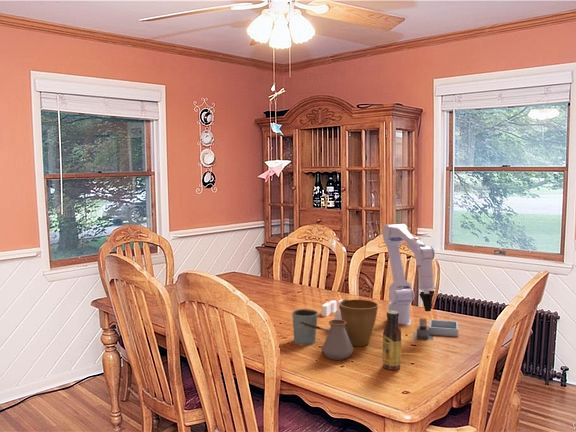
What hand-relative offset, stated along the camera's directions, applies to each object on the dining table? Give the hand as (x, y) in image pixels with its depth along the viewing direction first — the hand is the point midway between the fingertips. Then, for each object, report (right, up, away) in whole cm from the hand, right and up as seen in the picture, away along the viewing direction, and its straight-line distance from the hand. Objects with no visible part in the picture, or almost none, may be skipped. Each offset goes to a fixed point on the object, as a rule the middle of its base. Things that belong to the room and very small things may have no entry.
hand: (428, 310), depth 213 cm
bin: (+8, -11, +7) cm, 15 cm away
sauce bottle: (-21, -15, -30) cm, 39 cm away
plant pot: (-29, -13, -5) cm, 32 cm away
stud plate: (-2, -11, +1) cm, 12 cm away
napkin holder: (-36, -9, +39) cm, 54 cm away
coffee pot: (-43, -14, -20) cm, 49 cm away
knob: (-2, -11, +1) cm, 11 cm away
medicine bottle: (-32, -11, +16) cm, 37 cm away
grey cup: (-50, -13, -2) cm, 51 cm away
